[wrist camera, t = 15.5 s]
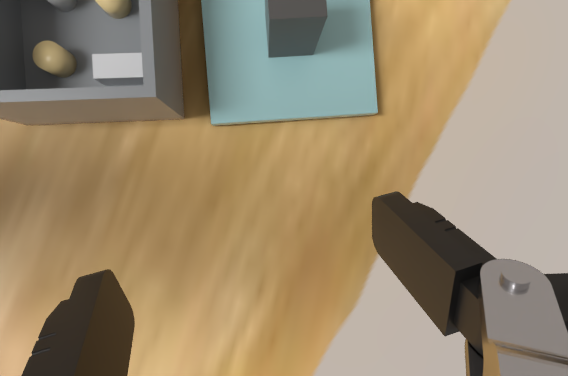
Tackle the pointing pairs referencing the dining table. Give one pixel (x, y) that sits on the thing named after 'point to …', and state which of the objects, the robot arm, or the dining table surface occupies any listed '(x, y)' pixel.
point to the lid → (288, 60)
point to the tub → (90, 61)
